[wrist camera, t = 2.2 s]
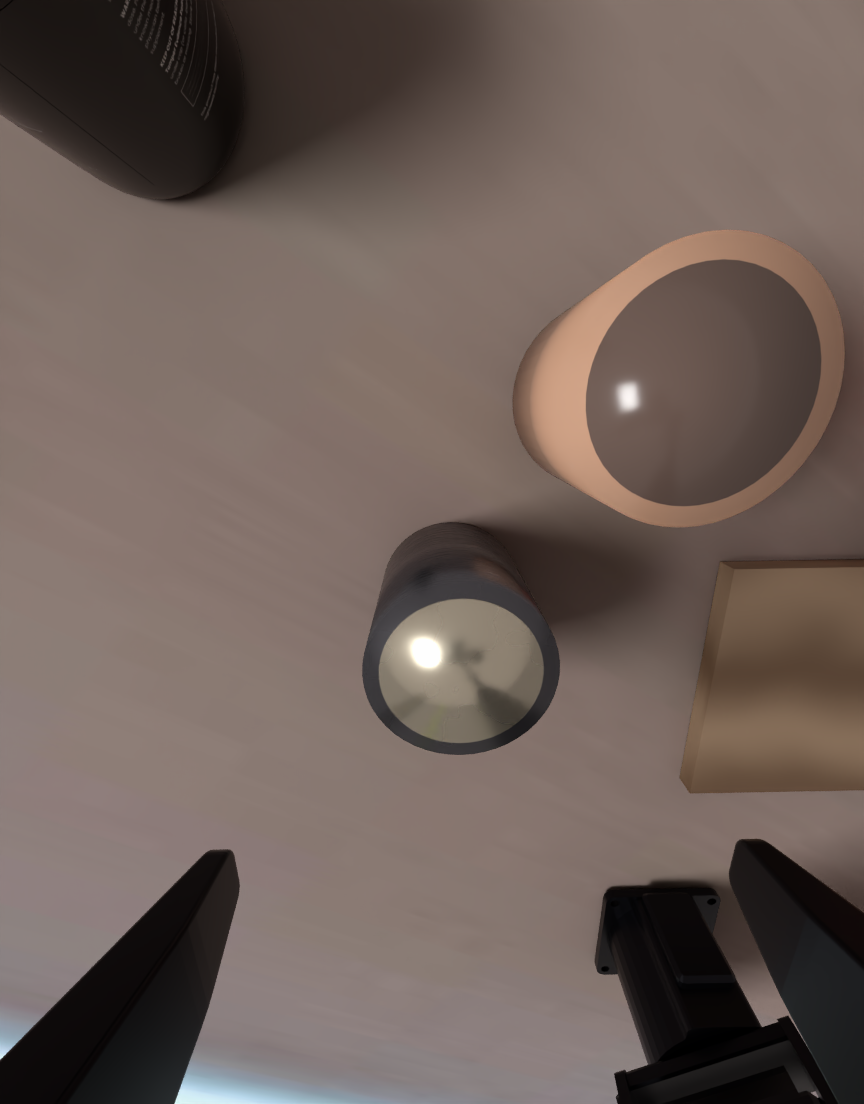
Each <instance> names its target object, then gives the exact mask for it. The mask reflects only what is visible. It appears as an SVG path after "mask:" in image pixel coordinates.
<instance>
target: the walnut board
mask: <svg viewBox="0 0 864 1104" xmlns="http://www.w3.org/2000/svg"><path fill="white" fill-rule="evenodd" d="M680 779H681V781H682V782H683V784H684V785H685V787H686V788H687V790H688V791H689V793H735V792H788V791H841V790H864V559H847V560H788V561H730V562H720V564H719V570H718V575H717V580H716V586H715V591H714V596H713V602H712V607H711V613H710V618H709V623H708V629H707V634H706V639H705V645H704V650H703V655H702V661H701V666H700V671H699V677H698V682H697V687H696V693H695V698H694V703H693V709H692V714H691V719H690V725H689V730H688V735H687V741H686V746H685V751H684V757H683V762H682V767H681V773H680Z"/></svg>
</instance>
